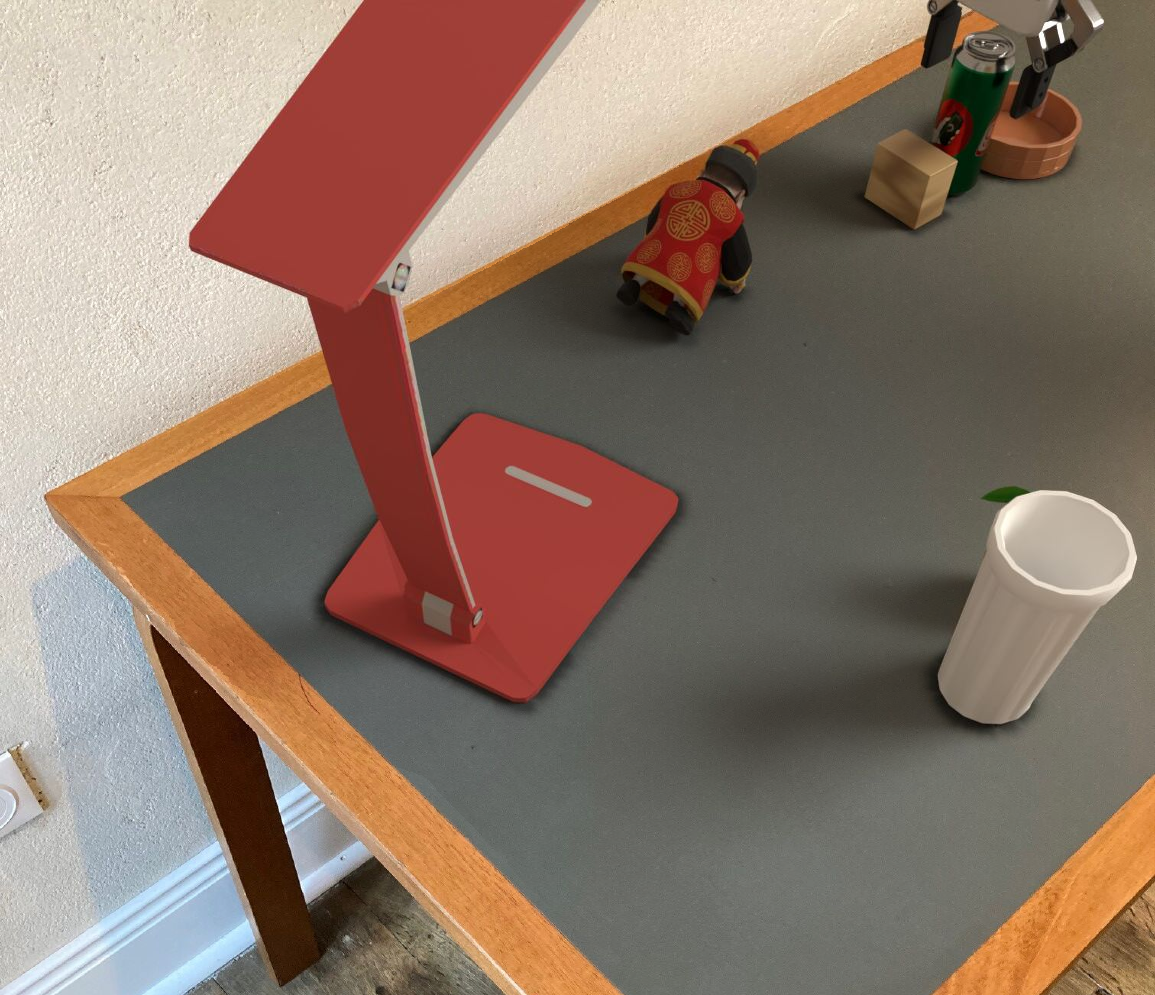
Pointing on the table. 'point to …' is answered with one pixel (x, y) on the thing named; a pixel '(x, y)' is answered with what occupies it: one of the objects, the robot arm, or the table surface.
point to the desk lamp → (382, 352)
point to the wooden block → (910, 178)
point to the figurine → (695, 239)
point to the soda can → (973, 103)
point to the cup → (1032, 600)
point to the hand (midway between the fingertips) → (978, 86)
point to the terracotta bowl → (1033, 138)
